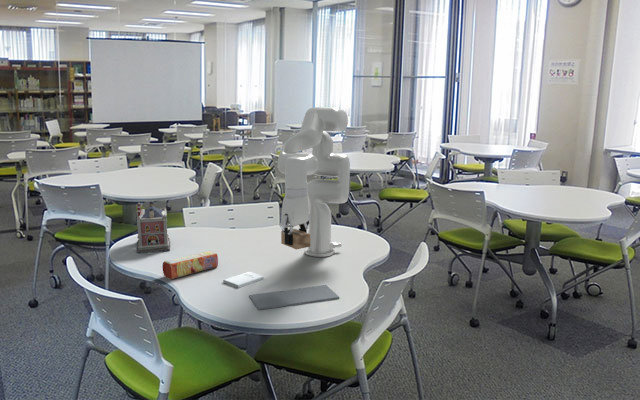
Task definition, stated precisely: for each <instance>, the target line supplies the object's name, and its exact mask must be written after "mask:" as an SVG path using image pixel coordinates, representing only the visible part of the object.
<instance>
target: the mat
mask: <svg viewBox="0 0 640 400" xmlns="http://www.w3.org/2000/svg"><path fill="white" fill-rule="evenodd" d="M249 298H250V300H251V301H252V302H253V304H254V305H255V307H256V308H257V309H258V311H262V310H269V309H276V308H283V307H290V306H297V305H303V304H311V303H319V302H325V301H331V300H332V301H333V300H339V299H340V296H339V295H338V294H337V293H336V292H335V291H334V290H333V289H331V288H330V287H329V286H328V285H327V284H321V285H314V286H307V287H306V286H305V287H299V288H292V289H284V290H275V291H270V292H268V291H267V292H261V293H254V294H249Z"/></svg>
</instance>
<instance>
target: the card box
mask: <svg viewBox="0 0 640 400" xmlns="http://www.w3.org/2000/svg"><path fill="white" fill-rule="evenodd" d="M280 233H281V234H280V235H281V239H280V243H281V244H282V245H285V246H287V247H289V248H292V249H294V250H301V249H306V248H308V247H310V234H309V232H307V233H306V232H303V231H300V230H299V229H297V228H293V230H292V233H291V234H293V245H291V246H290V245H286V244H285V233H283V231H282V230H281V232H280Z"/></svg>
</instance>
